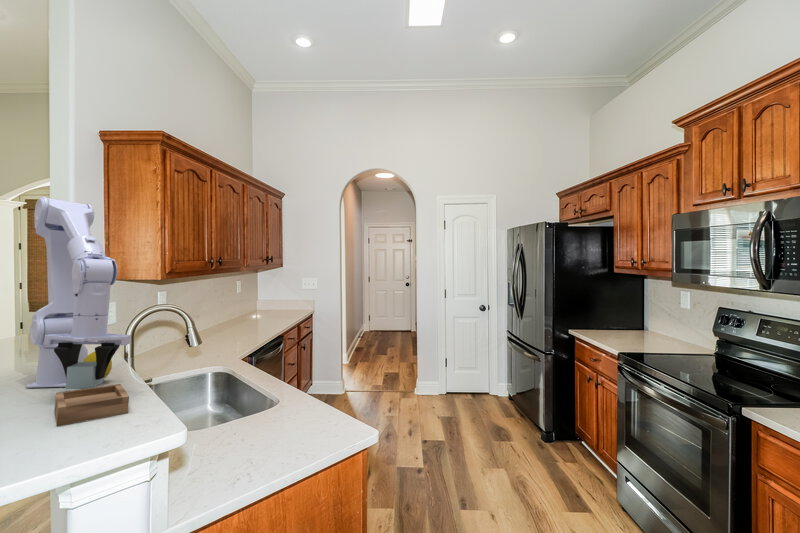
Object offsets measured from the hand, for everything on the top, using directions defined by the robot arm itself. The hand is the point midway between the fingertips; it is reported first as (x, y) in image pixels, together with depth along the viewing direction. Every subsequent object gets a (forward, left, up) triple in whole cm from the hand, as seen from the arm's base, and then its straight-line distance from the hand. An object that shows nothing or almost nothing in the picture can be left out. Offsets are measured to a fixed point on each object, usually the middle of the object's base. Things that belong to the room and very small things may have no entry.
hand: (85, 378), depth 76 cm
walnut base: (+8, +5, -4) cm, 10 cm away
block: (0, 0, -2) cm, 2 cm away
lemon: (-11, -3, -4) cm, 12 cm away
